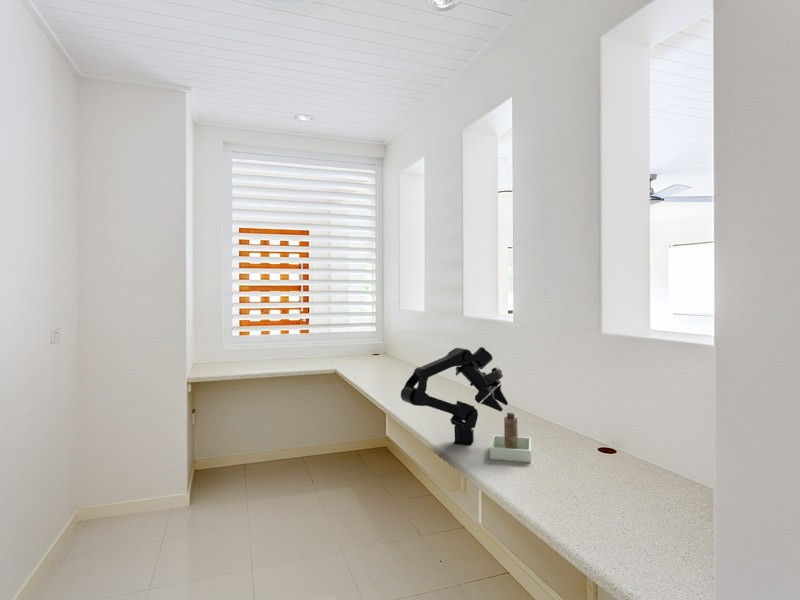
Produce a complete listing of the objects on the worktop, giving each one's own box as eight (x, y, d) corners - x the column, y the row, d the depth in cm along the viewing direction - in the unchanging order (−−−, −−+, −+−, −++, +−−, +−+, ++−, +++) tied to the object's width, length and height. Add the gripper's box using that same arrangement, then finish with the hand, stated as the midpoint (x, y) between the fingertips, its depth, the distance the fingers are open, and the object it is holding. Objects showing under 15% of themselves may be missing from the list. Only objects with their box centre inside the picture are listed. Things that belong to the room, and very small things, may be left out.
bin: (490, 459, 154) (489, 447, 154) (493, 446, 166) (493, 435, 166) (530, 462, 150) (530, 450, 150) (531, 448, 162) (531, 437, 162)
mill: (504, 454, 157) (503, 414, 156) (505, 449, 161) (504, 411, 160) (517, 455, 155) (517, 415, 155) (517, 450, 160) (517, 412, 159)
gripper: (482, 366, 161) (515, 399, 157) (494, 357, 178) (524, 387, 174) (461, 386, 165) (493, 419, 160) (475, 376, 182) (504, 406, 177)
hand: (504, 407), depth 168 cm, fingers open, 9 cm apart
